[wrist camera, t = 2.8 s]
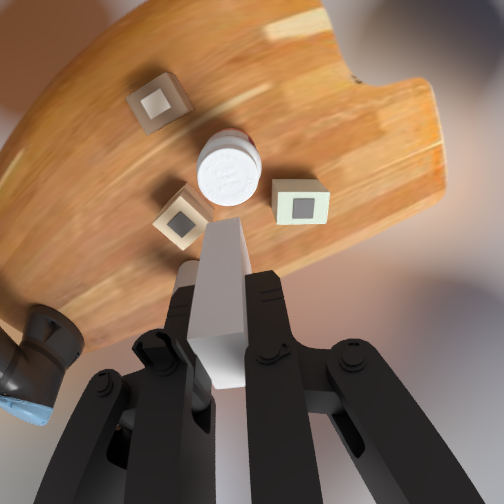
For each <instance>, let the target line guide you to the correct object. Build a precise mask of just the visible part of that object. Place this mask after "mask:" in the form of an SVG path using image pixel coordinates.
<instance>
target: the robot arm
mask: <svg viewBox="0 0 504 504" xmlns="http://www.w3.org/2000/svg"><path fill="white" fill-rule="evenodd" d="M83 348H84V339H83V337H82V335H81V333H80V331H79V330H78V329H77V327H76V326H75V325H74V324H73V323H72V322H71V321H70V320H69V319H67V318H66V317H65V316H64V315H62V314H61V313H59V312H57V311H56V310H54V309H51V308H49V307H46V306H34V307H33V308H32V309H31V310H30V312H29V313H28V315H27V317H26V321H25V326H24V331H23V337H22V341H21V343H20V345H19V346H18V345H17V344H16V343H15V342H14V341H13V340H12V339H11V337H10V336H9V335H8V334H7V333H6V332H5V331H4V330H3V329H2V328H1V327H0V407H1V408H3V409H4V410H6V411H7V412H9V413H10V414H12V415H14V416H16V417H18V418H20V419H22V420H24V421H26V422H29V423H32V424H35V425H39V426H43V425H46V424H47V423H48V421H49V418H50V416H51V413H52V411H53V410H54V409H53V407H54V404H55V401H56V398H57V395H58V392H59V389H60V386H61V383H62V380H63V378H64V375H65V372H66V371H67V369H68V368H69V367H70V366H71V365H72V364H73V363H74V362H75V361H76V360H77V358H79V357H80V355H81V353H82V351H83ZM132 350H133V351H134V353H135V354H136V355H137V357H138V358H139V359H140V361H141V362H142V363H143V364H144V366H145V368H144V369H142V370H139V371H136V372H133V373H130V374H127V375H124V376H121V375H120V374H119V373H118V372H117V371H115V370H113V369H105V370H102V371H99V372H98V373H96V374H95V375H94V376H93V377H92V378H91V380H90V381H89V383H88V385H87V387H86V389H85V390H84V392H83V394H82V396H81V398H80V400H79V402H78V404H77V406H76V408H75V409H74V411H73V413H72V415H71V417H70V419H69V421H68V423H67V425H66V427H65V430H64V432H63V434H62V436H61V438H60V440H59V442H58V444H57V447H56V449H55V451H54V454H53V456H52V458H51V460H50V463H49V465H48V467H47V470H46V472H45V475H44V477H43V480H42V482H41V485H40V487H39V490H38V492H37V495H36V498H35V501H34V503H33V504H216V489H215V488H216V486H215V417H216V414H215V413H216V404H215V400H214V398H213V396H212V395H211V384H212V383H213V385H214V387H215V388H216V389H225V388H235V387H243V386H245V388H246V409H247V430H248V448H249V466H250V484H251V500H252V504H323V499H322V493H321V486H320V481H319V475H318V469H317V463H316V456H315V450H314V444H313V439H312V433H311V428H310V422H309V416H308V412H310V413H321V414H327V415H328V417H329V419H330V421H331V423H332V424H333V426H334V428H335V430H336V432H337V433H338V435H339V437H340V439H341V441H342V443H343V444H344V446H345V448H346V450H347V452H348V453H349V455H350V457H351V459H352V461H353V462H354V464H355V466H356V468H357V470H358V471H359V473H360V475H361V477H362V479H363V480H364V482H365V484H366V486H367V487H368V489H369V491H370V493H371V494H372V496H373V498H374V500H375V502H376V503H377V504H485V502H484V501H483V499H482V498H481V496H480V495H479V493H478V491H477V490H476V488H475V486H474V485H473V483H472V482H471V480H470V479H469V477H468V476H467V474H466V473H465V471H464V470H463V468H462V466H461V465H460V463H459V462H458V461H457V459H456V458H455V456H454V455H453V453H452V452H451V450H450V449H449V448H448V446H447V444H446V443H445V441H444V440H443V439H442V437H441V436H440V434H439V433H438V432H437V430H436V429H435V427H434V426H433V425H432V423H431V422H430V420H429V419H428V417H427V416H426V415H425V413H424V412H423V411H422V409H421V408H420V407H419V405H418V404H417V402H416V401H415V400H414V398H413V397H412V396H411V394H410V393H409V392H408V390H407V389H406V388H405V386H404V385H403V384H402V382H401V381H400V380H399V378H398V377H397V376H396V375H395V373H394V372H393V370H392V369H391V368H390V367H389V365H388V364H387V363H386V361H385V360H384V359H383V357H382V356H381V355H380V354H379V352H378V351H377V350H376V348H375V347H373V346H372V345H371V344H370V343H369V342H367V341H364V340H361V339H346V340H343V341H340V342H338V343H337V344H335V345H334V346H333V347H332V348H331V350H330V349H315V348H309V347H306V346H304V345H302V344H300V343H299V342H298V341H296V339H295V338H294V337H293V335H292V332H291V329H290V324H289V319H288V314H287V309H286V305H285V300H284V295H283V291H282V286H281V281H280V278H279V277H278V276H277V275H276V274H275V272H274V271H273V270H269V271H264V272H259V273H253V274H252V273H251V265H250V260H249V256H248V252H247V247H246V243H245V239H244V234H243V230H242V226H241V221H240V217H236V218H231V219H226V220H221V221H216V222H211V223H207V224H206V229H205V235H204V240H203V245H202V250H201V255H200V261H199V266H198V272H197V278H196V284H195V285H190V286H183V287H179V288H178V289H177V290H176V292H175V293H174V294H173V296H172V297H171V301H170V305H169V310H168V313H167V318H166V321H165V326H164V329H154V330H150V331H148V332H146V333H144V334H143V335H141V336H140V337H139V338H138V339H137V340H136V341H135V343H134V345H133V347H132ZM118 424H119V425H118ZM117 425H118V426H117Z"/></svg>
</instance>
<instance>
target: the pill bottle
mask: <svg viewBox="0 0 504 504" xmlns="http://www.w3.org/2000/svg"><path fill="white" fill-rule="evenodd" d="M261 169H262V165H261V159H260V156H259V153H258V151H257V149H256V146H255V144H254V142H253V140H252V139H251V137H250V136H249V135H248V134H246V133H245V132H243V131H241V130H238V129H234V128H227V129H223V130H220V131H218V132H216V133H215V134H213V135H212V136H211V137H210V138H209V140H208V141H207V143H206V144H205V146H204V147H203V149H202V151H201V152H200V155H199V157H198V160H197V181H198V185H199V188H200V190H201V192H202V193H203V195H204V196H205V197H206V198H207V199H209V200H210V201H212V202H214V203H216V204H219V205H223V206H233V205H237V204H240V203H242V202H244V201H246V200H247V199H248V198H249V197H251V195H252V194H253V193H254V191H255V190H256V187H257V185H258V180H259V178H260V175H261Z"/></svg>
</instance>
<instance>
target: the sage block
mask: <svg viewBox="0 0 504 504" xmlns="http://www.w3.org/2000/svg"><path fill="white" fill-rule="evenodd" d="M329 197H330V192H329V191H328V190H327V188H326V187H325V186H324V185H323V184H322V183H321V182H320V181H319V180H318V179H272V207H271V208H272V211H273V214H274V217H275V220H276V224H277V225H287V224H326V222H327V214H328V206H329Z"/></svg>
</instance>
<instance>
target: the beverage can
mask: <svg viewBox="0 0 504 504" xmlns="http://www.w3.org/2000/svg"><path fill="white" fill-rule="evenodd" d="M198 266H199V261H196V260H189V261H186V262H184V263H183V264H182V265H181V266H180V267H179V270H178V274H177V278H176V282H175V286H174V290H173V294H174V293H175V292H176V290H177V289H178V288H179V287H183V286H190V285H195V284H196V278H197V272H198ZM173 294H172V296H173Z"/></svg>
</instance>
